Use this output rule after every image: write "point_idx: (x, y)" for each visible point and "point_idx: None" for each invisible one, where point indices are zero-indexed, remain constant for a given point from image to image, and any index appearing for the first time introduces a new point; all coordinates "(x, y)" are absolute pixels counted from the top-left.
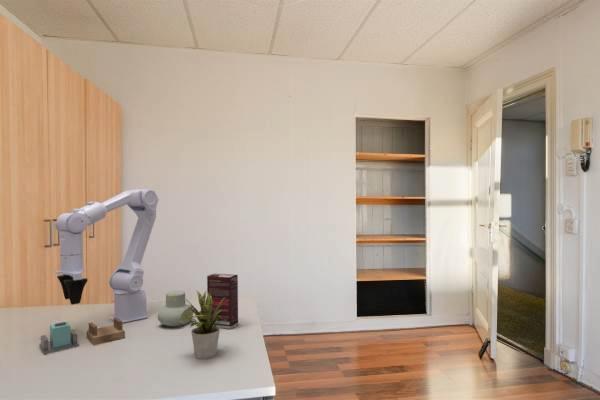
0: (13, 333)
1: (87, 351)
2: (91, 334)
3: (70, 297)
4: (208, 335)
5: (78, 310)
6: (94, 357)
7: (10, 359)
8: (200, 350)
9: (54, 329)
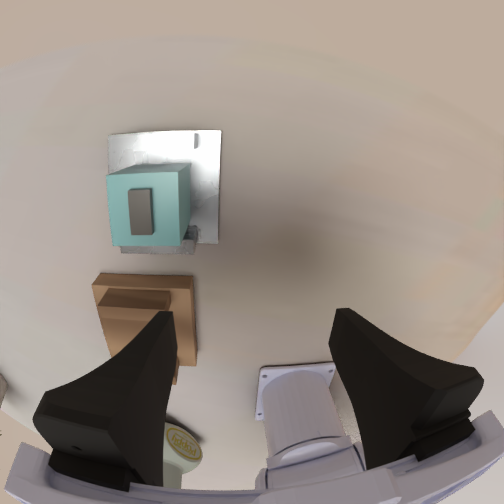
0: (430, 112)
1: (64, 247)
2: (128, 289)
3: (136, 336)
4: None
5: (471, 304)
6: (22, 250)
7: (147, 47)
8: None
9: (107, 180)
